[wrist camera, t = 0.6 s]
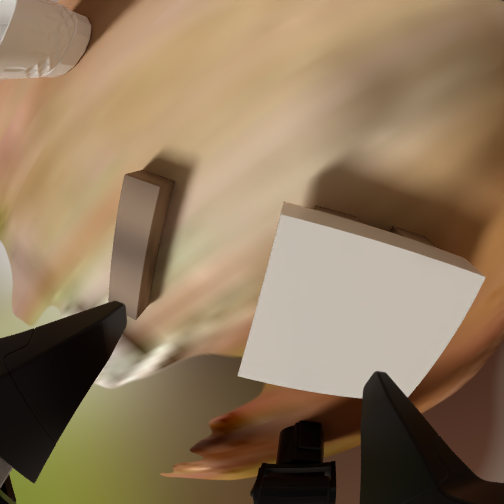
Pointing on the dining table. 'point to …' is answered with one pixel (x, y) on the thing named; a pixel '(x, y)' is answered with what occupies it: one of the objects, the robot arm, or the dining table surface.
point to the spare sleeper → (138, 238)
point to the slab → (353, 306)
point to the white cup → (40, 38)
